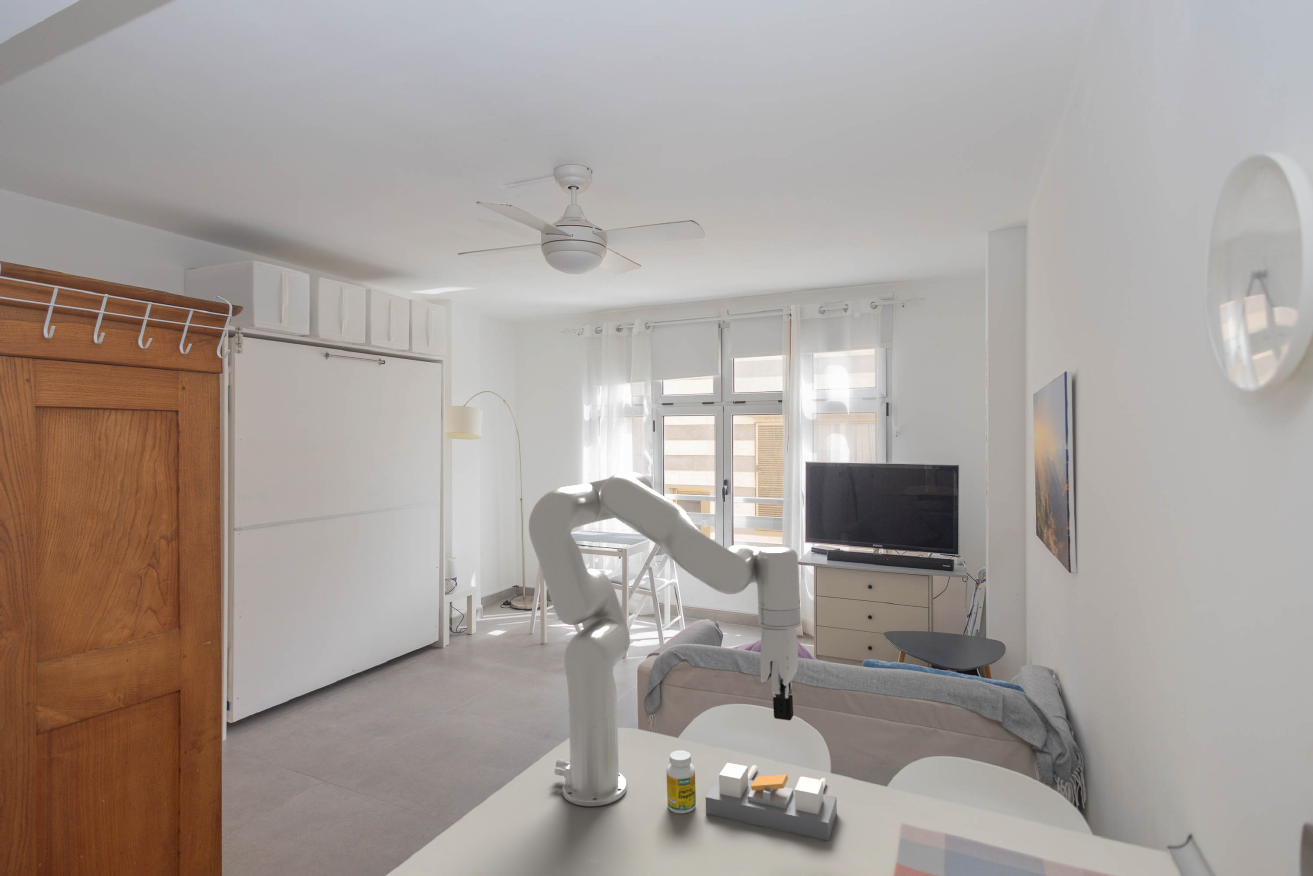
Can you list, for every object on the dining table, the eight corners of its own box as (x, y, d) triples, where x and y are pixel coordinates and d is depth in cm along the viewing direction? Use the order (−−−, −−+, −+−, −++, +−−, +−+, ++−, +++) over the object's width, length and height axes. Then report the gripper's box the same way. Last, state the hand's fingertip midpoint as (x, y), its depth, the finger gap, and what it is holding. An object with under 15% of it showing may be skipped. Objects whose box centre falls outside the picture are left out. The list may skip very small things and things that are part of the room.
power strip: (705, 813, 120) (705, 777, 120) (736, 766, 137) (736, 735, 137) (828, 841, 111) (827, 802, 111) (844, 786, 128) (844, 753, 128)
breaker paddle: (752, 794, 119) (750, 786, 119) (758, 783, 122) (756, 776, 122) (784, 791, 116) (782, 784, 116) (789, 781, 120) (787, 773, 120)
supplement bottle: (684, 796, 126) (683, 745, 126) (701, 808, 121) (700, 756, 122) (661, 804, 123) (660, 753, 123) (678, 818, 118) (677, 764, 119)
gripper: (769, 605, 127) (773, 700, 127) (747, 625, 114) (752, 731, 113) (808, 607, 124) (812, 705, 124) (790, 628, 111) (795, 738, 110)
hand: (783, 717), depth 119 cm, fingers closed
